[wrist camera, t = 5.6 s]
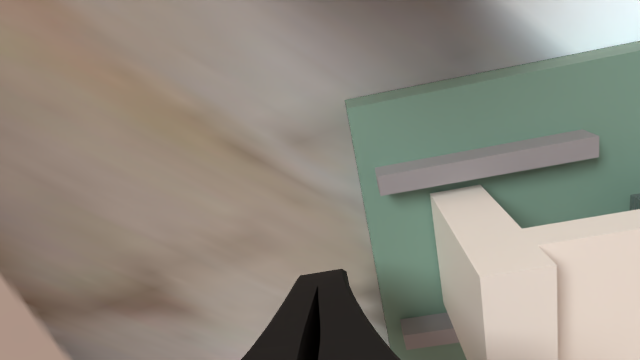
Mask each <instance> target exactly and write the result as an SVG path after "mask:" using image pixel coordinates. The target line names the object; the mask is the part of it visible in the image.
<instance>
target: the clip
mask: <svg viewBox="0 0 640 360" xmlns="http://www.w3.org/2000/svg"><path fill="white" fill-rule="evenodd" d="M430 199H431V207H432V215H433V223H434V231H435V240H436V248H437V256H438V264H439V272H440V280H441V288H442V296H443V303H444V305H445V308H446V310H447V313H448V315H449V318H450V320H451V323H452V325H453V327H454V330H455V332H456V335H457V337H458V340H459V342H460V344H461V347H462V349H463V352H464V354H465V357H466V359H467V360H640V209H637V210H631V211H625V212H619V213H613V214H607V215H601V216H595V217H589V218H583V219H577V220H571V221H565V222H559V223H553V224H547V225H541V226H535V227H529V228H523V229H522V228H521V227H520V226H519V225H518V224H517V223H516V222H515V221H514V220H513V219H512V218H511V217H510V216H509V214H508V213H507V212H506V211H505V210H504V209H503V208H502V207H501V206H500V205H499V204H498V203H497V202H496V201H495V200H494V199H493V198H492V197H491V196H490V194H489V193H488V192H487V191H486V190H485V189H484V188H483V187H482V186H481V185H475V186H470V187H464V188H458V189H453V190H447V191H441V192H436V193H430Z"/></svg>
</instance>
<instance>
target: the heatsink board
mask: <svg viewBox="0 0 640 360" xmlns="http://www.w3.org/2000/svg"><path fill="white" fill-rule="evenodd" d="M345 103H346V108H347V114H348V119H349V125H350V130H351V136H352V141H353V147H354V152H355V158H356V163H357V169H358V174H359V179H360V185H361V190H362V196H363V201H364V207H365V212H366V218H367V223H368V229H369V234H370V240H371V245H372V250H373V256H374V261H375V267H376V272H377V278H378V283H379V289H380V294H381V300H382V305H383V311H384V316H385V321H386V327H387V332H388V338H389V343H390V349H391V350H392V351H393V352H394V353H395V354H396V355H397V356H398V357H399V358H400V359H401V360H467V359H466V357H465V354H464V352H463V349H462V347H461V344H460V342H459V340H458V337H457V335H456V332H455V330H454V327H453V325H452V323H451V320H450V318H449V315H448V313H447V310H446V308H445V305H444V303H443V296H442V288H441V280H440V272H439V264H438V256H437V248H436V240H435V231H434V223H433V215H432V207H431V199H430V193H436V192H441V191H447V190H453V189H458V188H464V187H470V186H475V185H481V186H482V187H483V188H484V189H485V190H486V191H487V192H488V193H489V194H490V196H491V197H492V198H493V199H494V200H495V201H496V202H497V203H498V204H499V205H500V206H501V207H502V208H503V209H504V210H505V211H506V212H507V213H508V214H509V216H510V217H511V218H512V219H513V220H514V221H515V222H516V223H517V224H518V225H519V226H520V227H521V228H522V229H523V228H529V227H535V226H541V225H547V224H553V223H559V222H565V221H571V220H577V219H583V218H589V217H595V216H601V215H607V214H613V213H619V212H625V211H630V195H632V194H639V193H640V41H637V42H632V43H627V44H622V45H617V46H612V47H607V48H602V49H597V50H592V51H587V52H582V53H577V54H572V55H567V56H562V57H557V58H552V59H547V60H542V61H537V62H532V63H527V64H522V65H517V66H512V67H507V68H502V69H497V70H492V71H488V72H483V73H478V74H473V75H468V76H463V77H458V78H453V79H448V80H443V81H438V82H433V83H428V84H423V85H418V86H413V87H408V88H403V89H398V90H393V91H388V92H383V93H378V94H373V95H368V96H363V97H358V98H353V99H348V100H345Z"/></svg>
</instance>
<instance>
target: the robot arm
mask: <svg viewBox="0 0 640 360" xmlns="http://www.w3.org/2000/svg"><path fill="white" fill-rule="evenodd" d="M241 360H401V359H400V358H399V357H398V356H397V355H396V354H395V353H394V352H393V351H392V350H391V349H390V347H389V346H388V345H387V344H386V343H385V342H384V340H383V339H382V338H381V337H380V335H379V334H378V333H377V332H376V330H375V329H374V327H373V326H372V325H371V323H370V322H369V320H368V319H367V317H366V316H365V314H364V313H363V311H362V309H361V308H360V306H359V304H358V302H357V301H356V299H355V297H354V295H353V293H352V291H351V288H350V286H349V282H348V277H347V272H346V271H344V270H343V269H338V270H332V271H326V272H320V273H314V274H307V275H301V276H300V277H299V278H298V279H297V281H296V282H295V284H294V286H293V287H292V289H291V291H290V292H289V294H288V296H287V297H286V299H285V301H284V302H283V304H282V305H281V307H280V308H279V310H278V311H277V313H276V314H275V316H274V317H273V319H272V320H271V322H270V323H269V325H268V326H267V328H266V329H265V330H264V332H263V333H262V334H261V336H260V337H259V338H258V340H257V341H256V342H255V344H254V345H253V346H252V347H251V349H250V350H249V351H248V352H247V353H246V355H245V356H244V357H243V358H242V359H241Z"/></svg>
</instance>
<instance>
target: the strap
mask: <svg viewBox="0 0 640 360" xmlns="http://www.w3.org/2000/svg"><path fill="white" fill-rule="evenodd" d="M637 209H640V193H639V194H632V195H630V211H631V210H637Z"/></svg>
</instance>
